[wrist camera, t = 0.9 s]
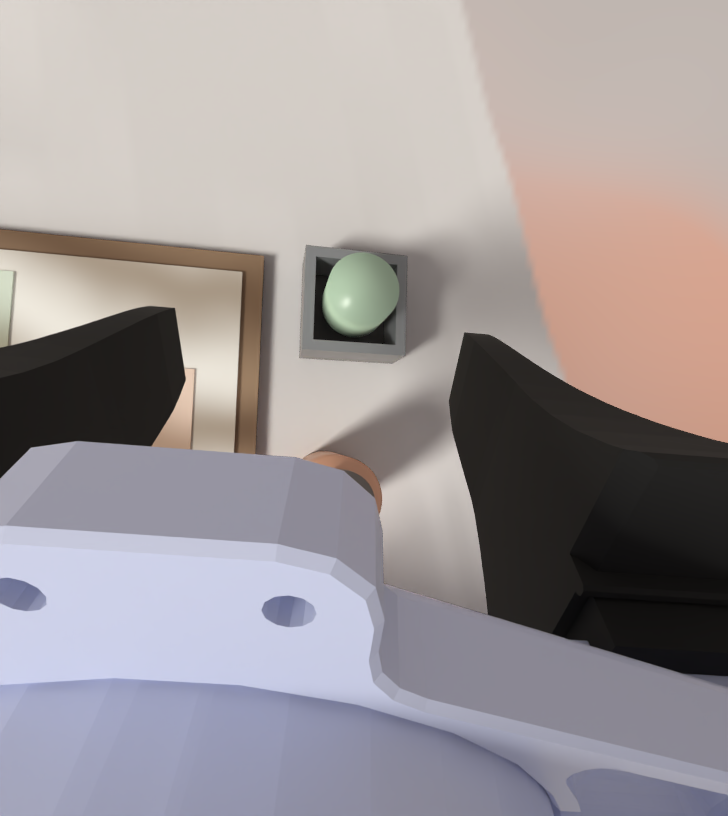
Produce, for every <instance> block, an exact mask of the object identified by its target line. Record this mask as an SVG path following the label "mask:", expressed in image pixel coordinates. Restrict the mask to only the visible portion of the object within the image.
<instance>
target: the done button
mask: <svg viewBox="0 0 728 816" xmlns="http://www.w3.org/2000/svg"><path fill="white" fill-rule="evenodd" d="M398 298H399V282H398V279H397V276H396V274H395V272H394V270H393V269H392V268H391V266H390V265H389V264H388V263H387V262H386V261H384V260H383V259H382V258H380V257H378V256H376V255H374V254H370V253H363V252H359V253H353V254H350V255H347V256H345V257H343V258H342V259H341V260H339V261H338V262H337V263H336V265H335V266H334V267H333V269H332V271H331V273H330V276H329V279H328V281H327V284H326V287H325V290H324V293H323V296H322V302H321V305H322V312H323V316H324V318H325V320H326V322H327V323H328V324H329V326H330V327H331V328H332V329H333V330H335V331H336V332H337V333H339V334H341V335H344V336H347V337H362V336H366V335H368V334H370V333H371V332H373V331H374V330H375V329H376V328H377V327H378V326H379V325H380V324H381V323H382V322H383V321H384V320H385V319H386V318H387V317H388V316H389V315H390V314H391V313H392V311H393V310H394V308H395V307H396V305H397V302H398Z"/></svg>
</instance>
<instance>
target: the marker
mask: <svg viewBox="0 0 728 816" xmlns="http://www.w3.org/2000/svg"><path fill="white" fill-rule="evenodd" d="M303 460H307V461H311V462H314V463H318V464H321V465H325V466H329V467H332V468H336V469H339V470H343V471H345V472H346V473H347V474H348V475H349V476H350V477H351V478H353V479H354V480H355V481H356V482H357V483H358V484H359V485H361V486H362V487H363V488H364V489H365V490H366V491H367V492H368V493H370V494H371V495H372V496H373V497H374V498H375V500H376V504H377V509H378V513H380V510H381V505H382V493H381V488H380V484H379V482H378V480H377V478H376V476H375V474H374V473H373V472H372V471H371V469H370V468H369V467H367V466H366V465H365V464H364V463H362V462H360V461H358V460H356V459H354V458H351V457H347V456H344V455H340V454H337V453H334V452H329V451H319V452H314V453H312V454H309V455H307V456H306V457H304V458H303Z"/></svg>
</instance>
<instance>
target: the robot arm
mask: <svg viewBox="0 0 728 816" xmlns="http://www.w3.org/2000/svg"><path fill="white" fill-rule="evenodd" d="M185 381H186V376H185V370H184V363H183V357H182V350H181V343H180V337H179V330H178V324H177V317H176V311H175V308H170V307H158V306H145V307H139V308H135V309H131V310H128V311H124V312H121V313H118V314H115V315H112V316H108V317H105V318H102V319H99V320H96V321H93V322H90V323H87V324H84V325H81V326H78V327H75V328H71V329H68V330H65V331H61V332H58V333H55V334H51V335H48V336H45V337H41V338H38V339H34V340H31V341H27V342H23V343H19V344H15V345H10V346H6V347H1V348H0V816H728V443H725V442H721V441H716V440H712V439H708V438H705V437H702V436H698V435H694V434H691V433H688V432H684V431H681V430H678V429H674V428H671V427H668V426H665V425H662V424H659V423H656V422H653V421H650V420H648V419H645V418H642V417H640V416H637V415H634V414H632V413H629V412H626V411H624V410H621V409H619V408H617V407H614V406H612V405H610V404H607V403H605V402H603V401H601V400H599V399H596V398H595V397H593V396H590V395H588V394H586V393H584V392H582V391H580V390H578V389H576V388H575V387H573V386H571V385H569V384H567V383H566V382H564V381H562V380H561V379H559V378H557V377H555V376H554V375H552V374H550V373H549V372H547V371H546V370H544V369H542V368H541V367H539V366H538V365H536V364H535V363H533V362H532V361H530V360H529V359H527V358H526V357H524V356H523V355H521V354H520V353H518V352H517V351H515V350H514V349H512V348H511V347H509V346H508V345H506V344H505V343H503V342H502V341H500V340H498V339H497V338H495V337H493V336H491V335H486V334H475V333H464V337H463V341H462V345H461V350H460V354H459V359H458V363H457V368H456V372H455V376H454V381H453V385H452V390H451V394H450V399H449V406H450V416H451V424H452V431H453V435H454V439H455V443H456V446H457V450H458V454H459V457H460V461H461V464H462V468H463V471H464V475H465V478H466V482H467V485H468V489H469V492H470V496H471V500H472V504H473V508H474V513H475V519H476V525H477V532H478V538H479V544H480V552H481V559H482V567H483V574H484V582H485V591H486V600H487V609H488V615H487V614H483V613H480V612H477V611H473V610H470V609H467V608H463V607H460V606H457V605H453V604H450V603H447V602H443V601H440V600H437V599H434V598H430V597H427V596H424V595H420V594H417V593H414V592H410V591H407V590H404V589H400V588H397V587H394V586H390V585H387V584H384V574H383V533H382V526H381V522H380V517H379V513H378V509H377V504H376V500H375V498H374V497H373V496H372V495H371V494H370V493H368V492H367V491H366V490H365V489H364V488H363V487H362V486H361V485H359V484H358V483H357V482H356V481H355V480H354V479H353V478H351V477H350V476H349V475H348V474H347V473H346V472H345V471H343V470H339V469H336V468H332V467H329V466H325V465H321V464H318V463H314V462H311V461H307V460H303V459H300V458H296V457H285V456H271V455H258V454H244V453H231V452H217V451H204V450H191V449H177V448H164V447H151V446H152V445H153V443H154V441H155V440H156V438H157V437H158V435H159V434H160V432H161V430H162V429H163V427H164V425H165V424H166V422H167V421H168V419H169V417H170V416H171V414H172V412H173V411H174V408H175V406H176V404H177V402H178V399H179V397H180V394H181V392H182V389H183V386H184V384H185Z"/></svg>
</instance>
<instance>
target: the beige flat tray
mask: <svg viewBox="0 0 728 816" xmlns="http://www.w3.org/2000/svg"><path fill="white" fill-rule="evenodd" d="M263 274H264V256H260V255H250V254H240V253H230V252H220V251H210V250H200V249H191V248H181V247H171V246H161V245H151V244H141V243H131V242H121V241H111V240H102V239H92V238H82V237H72V236H62V235H52V234H42V233H32V232H22V231H13V230H3V229H0V348H1V347H6V346H10V345H15V344H19V343H23V342H27V341H31V340H34V339H38V338H41V337H45V336H48V335H51V334H55V333H58V332H61V331H65V330H68V329H71V328H75V327H78V326H81V325H84V324H87V323H90V322H93V321H96V320H99V319H102V318H105V317H108V316H112V315H115V314H118V313H121V312H124V311H128V310H131V309H135V308H139V307H145V306H158V307H170V308H175V311H176V317H177V324H178V330H179V337H180V343H181V350H182V357H183V363H184V370H185V376H186V381H185V384H184V386H183V389H182V392H181V394H180V397H179V399H178V402H177V404H176V406H175V408H174V411H173V412H172V414H171V416H170V417H169V419H168V421H167V422H166V424H165V425H164V427H163V429H162V430H161V432H160V434H159V435H158V437H157V438H156V440H155V441H154V443H153V445H152V446H151V447H164V448H177V449H191V450H204V451H217V452H231V453H244V454H256V433H257V411H258V388H259V365H260V342H261V320H262V297H263Z"/></svg>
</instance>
